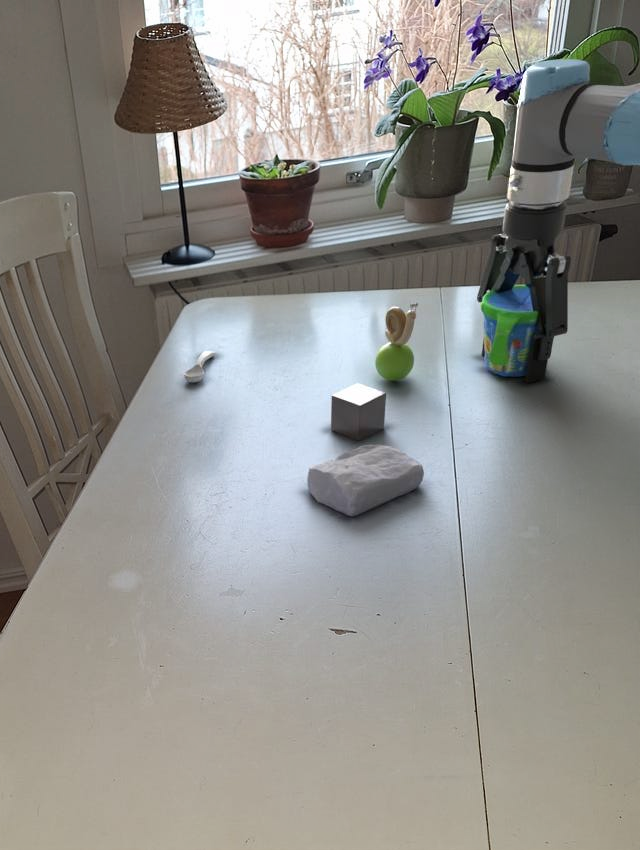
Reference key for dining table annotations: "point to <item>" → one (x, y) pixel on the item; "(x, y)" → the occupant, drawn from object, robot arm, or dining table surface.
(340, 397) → the metal cube
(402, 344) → the snail figurine
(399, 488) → the stone block
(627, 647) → the dining table surface
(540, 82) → the robot arm
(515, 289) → the snack cup
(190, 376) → the spoon
